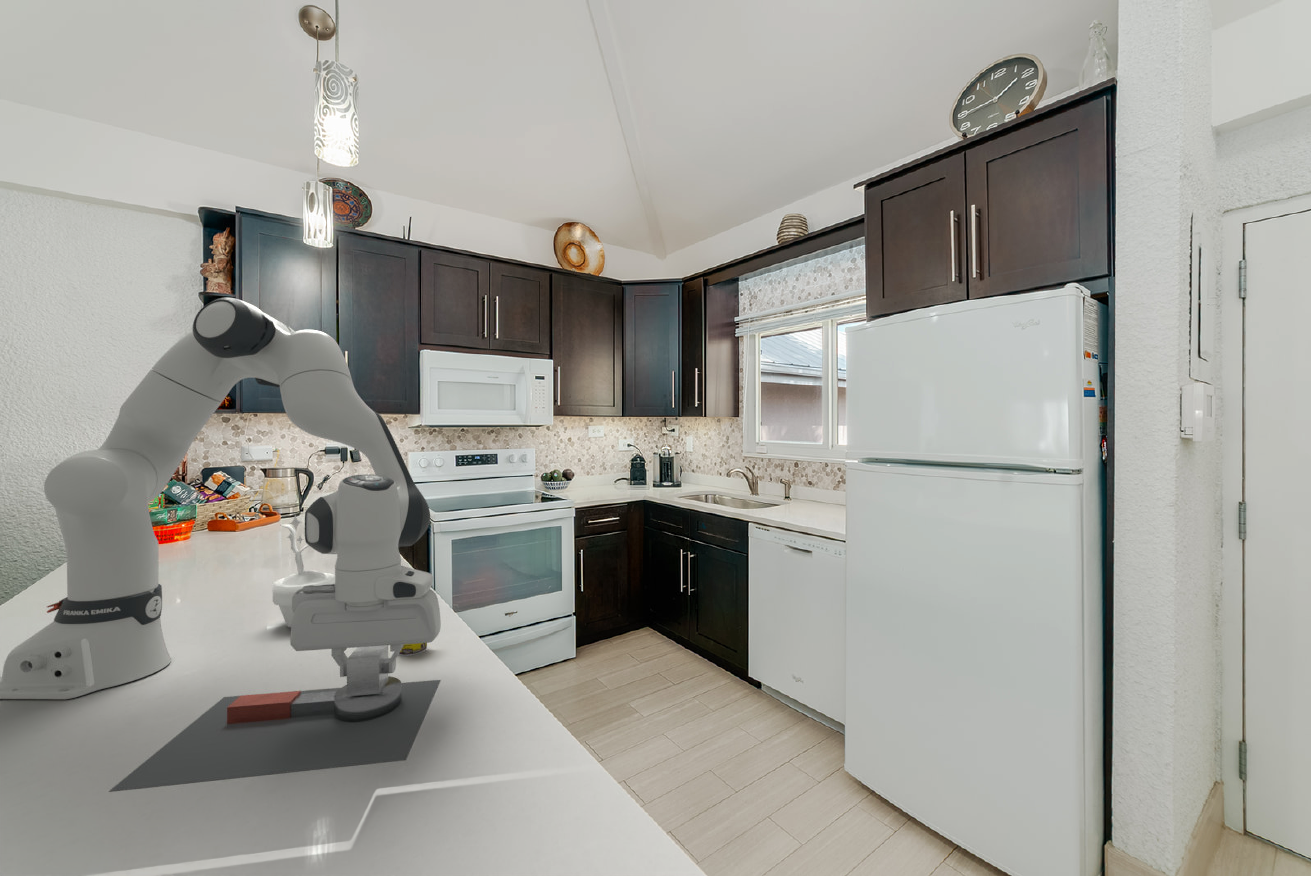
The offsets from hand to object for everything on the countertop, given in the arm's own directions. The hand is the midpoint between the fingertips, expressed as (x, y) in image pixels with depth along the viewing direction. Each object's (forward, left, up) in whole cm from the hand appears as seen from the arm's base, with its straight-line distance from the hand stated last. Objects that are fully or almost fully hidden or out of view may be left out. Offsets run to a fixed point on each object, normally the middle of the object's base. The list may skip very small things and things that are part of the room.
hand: (368, 673), depth 80 cm
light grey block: (0, 0, -2) cm, 2 cm away
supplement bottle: (+1, +21, -6) cm, 22 cm away
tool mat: (-7, -4, -6) cm, 10 cm away
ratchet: (-7, 0, -5) cm, 8 cm away
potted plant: (-25, +41, -6) cm, 48 cm away
